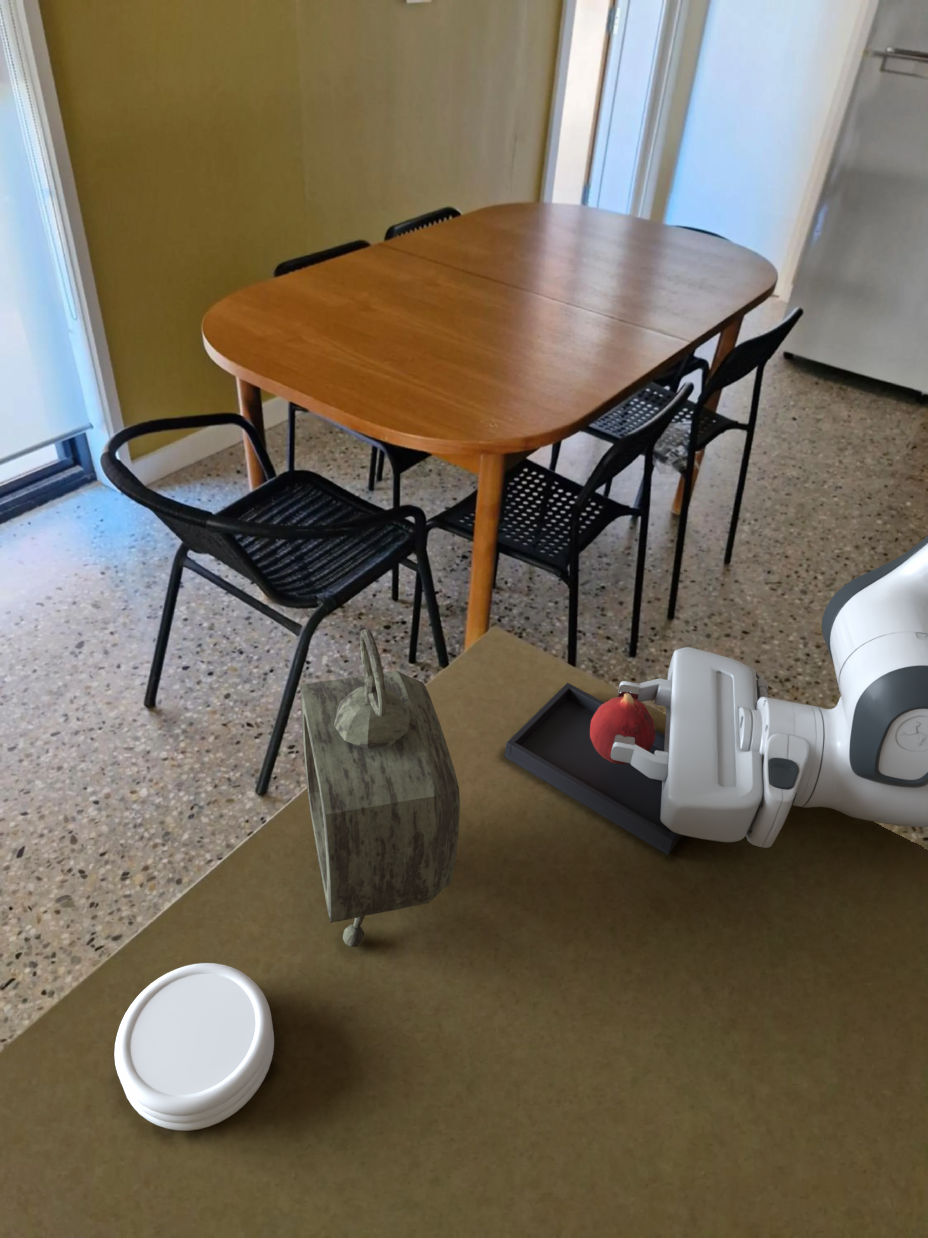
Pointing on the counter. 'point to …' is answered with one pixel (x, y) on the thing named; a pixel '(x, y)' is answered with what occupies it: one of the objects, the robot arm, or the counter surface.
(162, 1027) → the white round flat cylinder
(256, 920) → the counter surface
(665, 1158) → the counter surface
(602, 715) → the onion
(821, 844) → the counter surface
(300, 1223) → the counter surface
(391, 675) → the tabletop clock
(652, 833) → the baking tray
